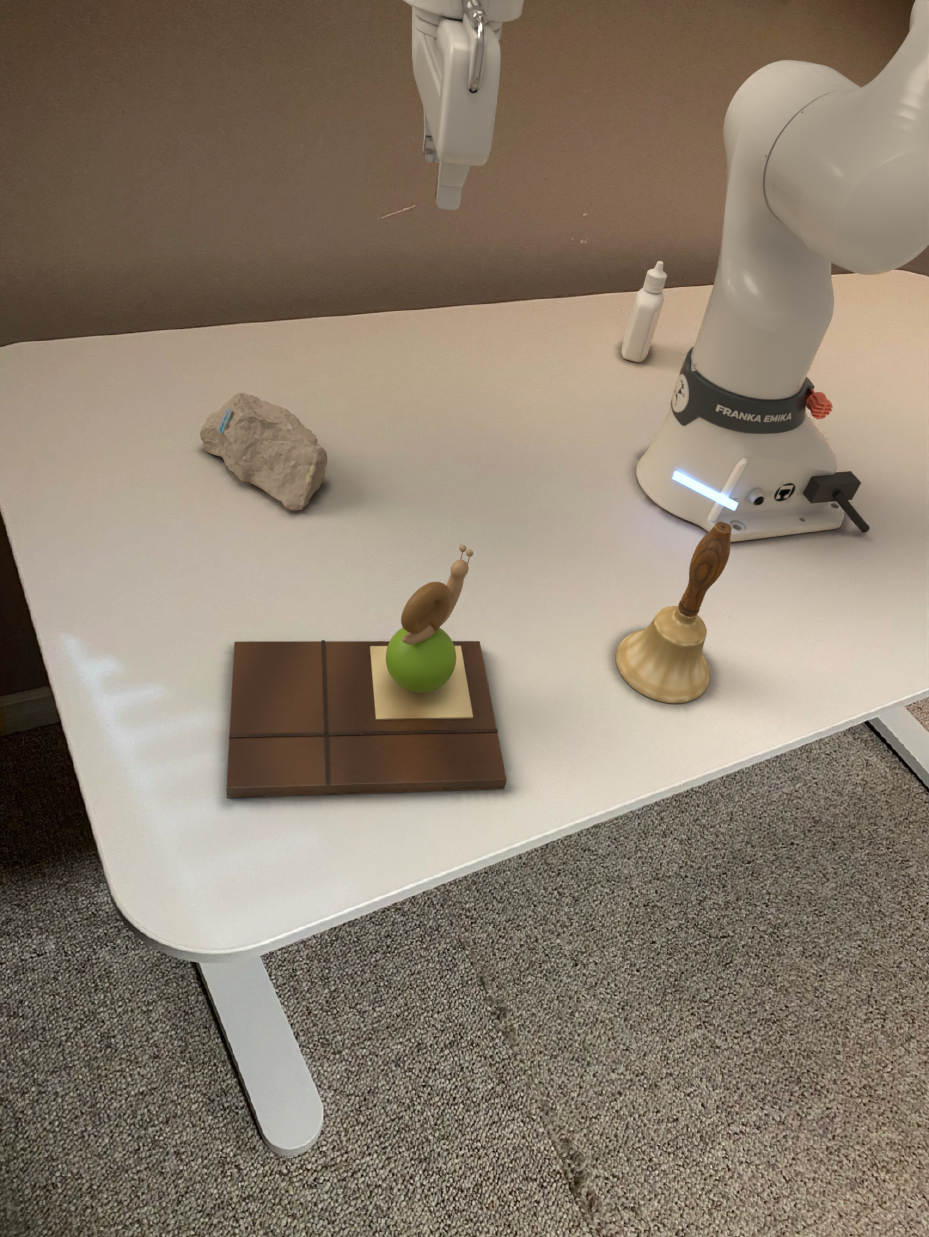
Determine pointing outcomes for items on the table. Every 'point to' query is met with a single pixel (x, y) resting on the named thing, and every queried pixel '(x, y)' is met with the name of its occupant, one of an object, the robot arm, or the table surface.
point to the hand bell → (677, 633)
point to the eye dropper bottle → (644, 315)
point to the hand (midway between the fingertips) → (439, 182)
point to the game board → (355, 723)
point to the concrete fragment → (267, 448)
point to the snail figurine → (427, 634)
